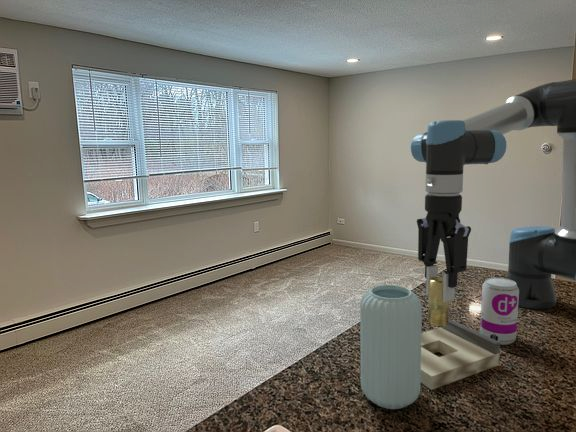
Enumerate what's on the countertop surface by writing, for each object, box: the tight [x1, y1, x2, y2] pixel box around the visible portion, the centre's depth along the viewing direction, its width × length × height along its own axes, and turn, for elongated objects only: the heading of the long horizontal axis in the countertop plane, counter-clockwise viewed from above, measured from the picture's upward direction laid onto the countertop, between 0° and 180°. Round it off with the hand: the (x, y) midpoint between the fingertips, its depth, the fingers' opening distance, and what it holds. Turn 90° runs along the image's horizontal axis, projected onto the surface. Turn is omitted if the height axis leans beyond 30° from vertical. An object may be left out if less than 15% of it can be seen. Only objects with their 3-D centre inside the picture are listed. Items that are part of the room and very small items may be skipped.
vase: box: [359, 284, 423, 410], centre depth 82 cm, size 12×12×22 cm
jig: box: [420, 318, 501, 391], centre depth 97 cm, size 20×16×6 cm
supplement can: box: [479, 277, 519, 346], centre depth 106 cm, size 8×8×15 cm
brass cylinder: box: [427, 276, 450, 328], centre depth 94 cm, size 4×4×10 cm
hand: (439, 296), depth 94 cm, fingers closed on brass cylinder, 4 cm apart
